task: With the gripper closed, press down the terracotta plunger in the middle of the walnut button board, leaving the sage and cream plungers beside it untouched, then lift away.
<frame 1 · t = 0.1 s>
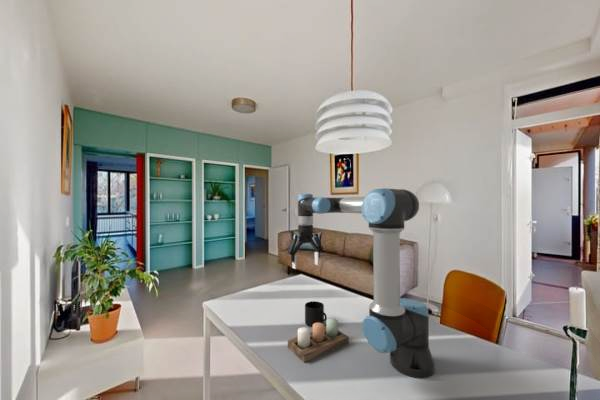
hand: (305, 266, 128), 28 cm above the table, fingers open, 13 cm apart
cream button: (303, 337, 102), point 5 cm above the table, slide at 0.0 cm
button board: (318, 345, 106), on the table
sage button: (332, 327, 111), point 5 cm above the table, slide at 0.0 cm
mug: (316, 324, 126), on the table
terracotta button: (318, 332, 106), point 6 cm above the table, slide at 0.0 cm
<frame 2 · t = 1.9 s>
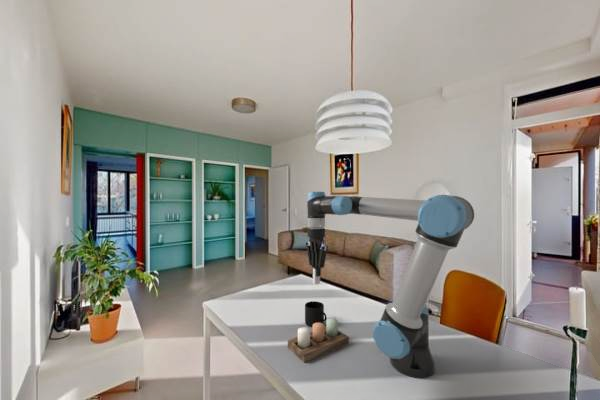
hand: (316, 283, 108), 26 cm above the table, fingers closed
nothing on the table moved.
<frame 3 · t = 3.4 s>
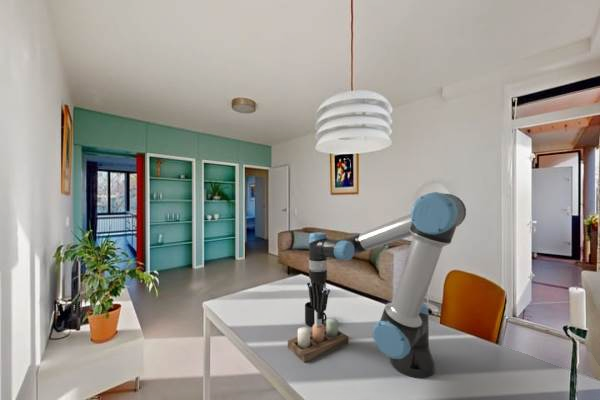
hand: (318, 325, 107), 8 cm above the table, fingers closed
terracotta button: (318, 333, 106), point 5 cm above the table, slide at 0.4 cm, touching gripper
everything else where it was.
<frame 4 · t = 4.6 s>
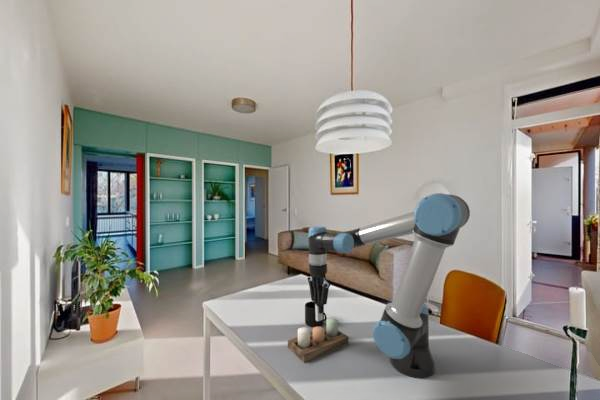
hand: (319, 319, 106), 11 cm above the table, fingers closed
terracotta button: (318, 336, 106), point 4 cm above the table, slide at 1.7 cm
everything else where it was.
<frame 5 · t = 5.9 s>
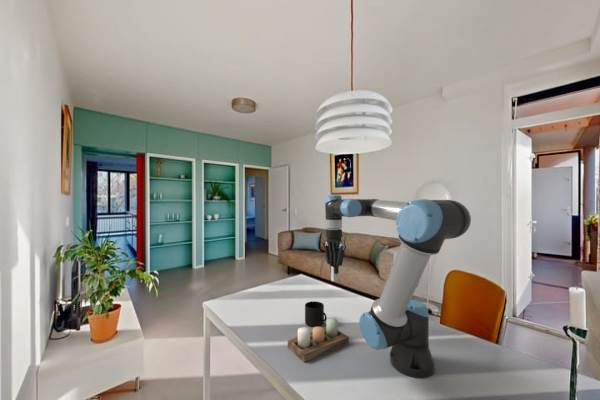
hand: (334, 280, 116), 25 cm above the table, fingers closed
nothing on the table moved.
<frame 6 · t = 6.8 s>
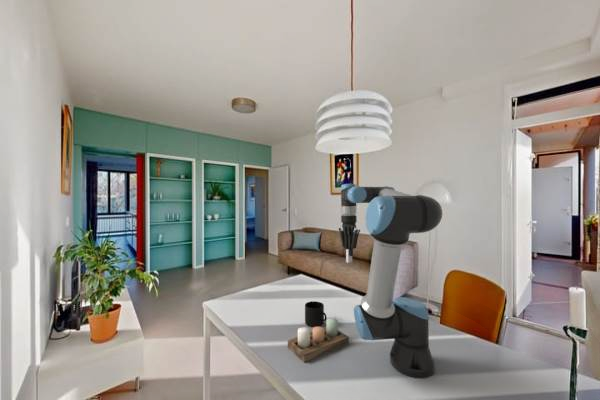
hand: (349, 262, 126), 30 cm above the table, fingers closed
nothing on the table moved.
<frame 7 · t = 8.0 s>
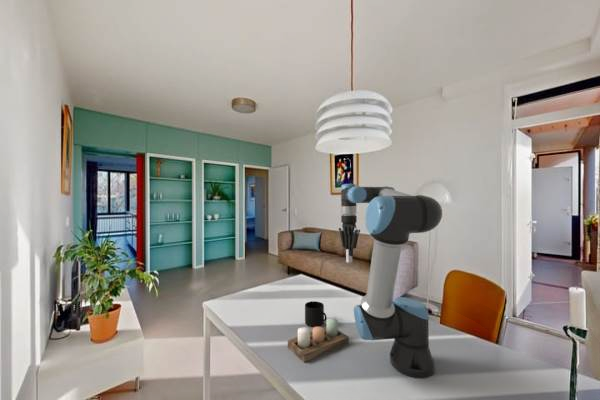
hand: (349, 262, 126), 30 cm above the table, fingers closed
nothing on the table moved.
at the end: terracotta button slide at 1.7 cm; sage button slide at 0.0 cm; cream button slide at 0.0 cm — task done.
